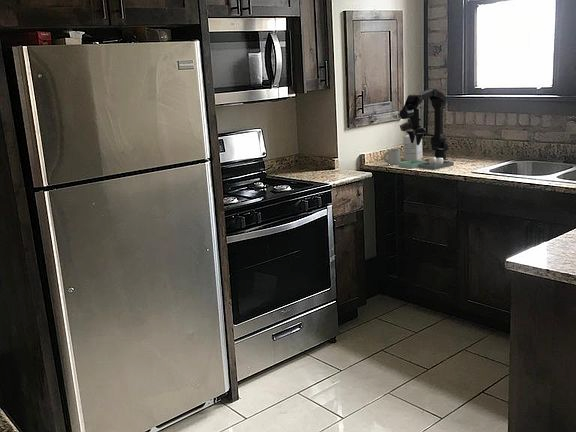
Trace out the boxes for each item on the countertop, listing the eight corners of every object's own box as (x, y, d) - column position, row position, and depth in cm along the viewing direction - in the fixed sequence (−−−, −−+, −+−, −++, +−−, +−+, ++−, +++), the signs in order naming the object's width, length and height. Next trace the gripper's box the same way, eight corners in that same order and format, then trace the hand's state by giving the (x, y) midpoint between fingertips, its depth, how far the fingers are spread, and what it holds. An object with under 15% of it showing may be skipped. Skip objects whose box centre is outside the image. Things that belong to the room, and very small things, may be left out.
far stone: (432, 165, 367) (432, 156, 365) (437, 165, 363) (437, 157, 362) (427, 166, 364) (427, 157, 363) (432, 166, 361) (432, 158, 360)
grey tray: (437, 164, 371) (437, 160, 370) (453, 166, 361) (453, 161, 361) (418, 168, 362) (418, 164, 362) (434, 170, 353) (434, 166, 352)
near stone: (439, 166, 362) (439, 157, 361) (444, 166, 359) (444, 158, 358) (434, 167, 360) (434, 158, 359) (439, 167, 357) (439, 159, 356)
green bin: (412, 164, 376) (412, 159, 375) (425, 166, 367) (425, 161, 366) (398, 167, 370) (398, 162, 369) (412, 169, 361) (412, 164, 360)
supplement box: (409, 157, 401) (409, 134, 398) (422, 158, 396) (422, 134, 393) (403, 159, 394) (402, 136, 391) (416, 160, 389) (416, 136, 386)
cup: (400, 165, 376) (399, 150, 374) (383, 166, 378) (382, 151, 376) (400, 163, 383) (400, 148, 380) (384, 164, 385) (383, 149, 383)
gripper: (395, 117, 367) (396, 143, 371) (406, 119, 349) (407, 147, 353) (413, 115, 368) (414, 141, 372) (425, 117, 350) (426, 145, 354)
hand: (415, 144), depth 363 cm, fingers open, 9 cm apart
